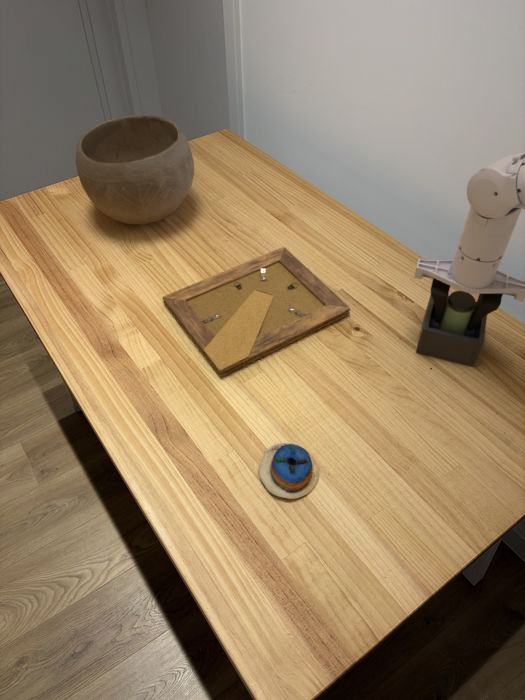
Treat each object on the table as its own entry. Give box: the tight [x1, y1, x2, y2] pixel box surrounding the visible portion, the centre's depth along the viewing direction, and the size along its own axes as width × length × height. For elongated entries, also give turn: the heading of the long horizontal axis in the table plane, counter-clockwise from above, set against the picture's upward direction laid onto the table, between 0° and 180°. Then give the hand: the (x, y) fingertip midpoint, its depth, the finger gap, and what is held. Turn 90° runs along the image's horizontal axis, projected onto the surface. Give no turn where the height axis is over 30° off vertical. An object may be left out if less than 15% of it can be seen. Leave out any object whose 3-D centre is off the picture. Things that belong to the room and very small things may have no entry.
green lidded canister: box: [438, 290, 476, 335], centre depth 80 cm, size 4×4×6 cm
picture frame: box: [162, 246, 351, 378], centre depth 88 cm, size 19×2×24 cm
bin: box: [415, 294, 488, 367], centre depth 82 cm, size 8×8×5 cm
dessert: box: [258, 442, 320, 500], centre depth 69 cm, size 8×7×6 cm
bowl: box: [75, 114, 195, 226], centre depth 102 cm, size 21×21×15 cm
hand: (454, 322), depth 81 cm, fingers closed on green lidded canister, 4 cm apart
